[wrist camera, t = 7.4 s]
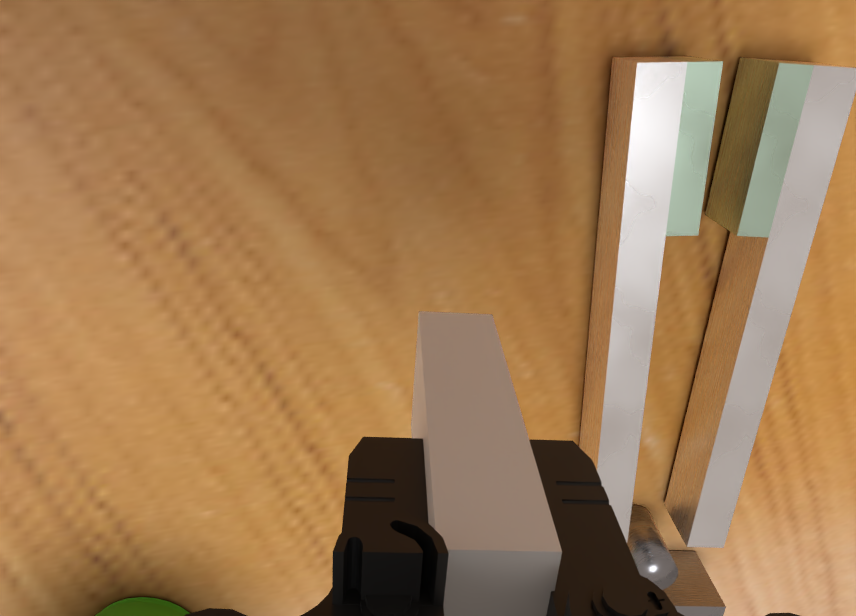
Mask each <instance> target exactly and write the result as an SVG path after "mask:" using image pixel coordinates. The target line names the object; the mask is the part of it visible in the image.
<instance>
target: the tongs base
mask: <svg viewBox="0 0 856 616" xmlns="http://www.w3.org/2000/svg"><path fill="white" fill-rule="evenodd" d="M855 92H856V68H854V67H846V66H839V65H831V64H823V63H814V62H800V61H785V60H771V59H756V58H741V57H740V62H739V66H738V71H737V75H736V79H735V84H734V88H733V93H732V97H731V102H730V106H729V111H728V115H727V120H726V124H725V128H724V133H723V137H722V142H721V146H720V151H719V155H718V160H717V164H716V169H715V173H714V177H713V182H712V186H711V191H710V195H709V200H708V204H707V209H706V213H705V215H706V216H708V217H709V218H711V219H712V220H714V221H715V222H717V223H718V224H720V225H721V226H723V227H724V228H726V229H727V230H729V231H730V235H729V239H728V243H727V247H726V251H725V255H724V260H723V264H722V268H721V272H720V276H719V280H718V285H717V289H716V293H715V297H714V301H713V305H712V309H711V314H710V318H709V322H708V326H707V330H706V334H705V338H704V343H703V347H702V351H701V355H700V359H699V363H698V367H697V372H696V376H695V380H694V384H693V388H692V392H691V397H690V401H689V405H688V409H687V413H686V417H685V421H684V426H683V430H682V434H681V438H680V442H679V446H678V450H677V455H676V459H675V463H674V467H673V471H672V475H671V479H670V484H669V488H668V492H667V496H666V500H665V504H664V505H665V507H666V509H667V511H668V513H669V515H670V516H671V518H672V520H673V522H674V524H675V526H676V527H677V529H678V531H679V533H680V535H681V537H682V539H683V540H684V542H685V544H686V546H687V547H716V548H724V544H725V541H726V537H727V534H728V531H729V527H730V524H731V520H732V517H733V513H734V510H735V506H736V503H737V499H738V496H739V493H740V489H741V486H742V482H743V479H744V475H745V472H746V468H747V465H748V462H749V458H750V455H751V451H752V448H753V444H754V441H755V437H756V434H757V430H758V427H759V424H760V420H761V417H762V413H763V410H764V406H765V403H766V399H767V396H768V392H769V389H770V386H771V382H772V379H773V375H774V372H775V368H776V365H777V361H778V358H779V355H780V351H781V348H782V344H783V341H784V337H785V334H786V330H787V327H788V323H789V320H790V317H791V313H792V310H793V306H794V303H795V299H796V296H797V292H798V289H799V285H800V282H801V279H802V275H803V272H804V268H805V265H806V261H807V258H808V254H809V251H810V248H811V244H812V241H813V237H814V234H815V230H816V227H817V223H818V220H819V216H820V213H821V210H822V206H823V203H824V199H825V196H826V192H827V189H828V185H829V182H830V178H831V175H832V172H833V168H834V165H835V161H836V158H837V154H838V151H839V147H840V144H841V141H842V137H843V134H844V130H845V127H846V123H847V120H848V116H849V113H850V109H851V106H852V103H853V99H854V96H855ZM627 545H628V547H629V549H630V552H631V554H632V557H633V559H634V561H635V564H636V566H637V569H638V571H639V574H640V575H641V576H643V577H645V578H648V579H649V580H650V581H652V582H653V583H654V584H655V585H657V586H658V587H659V588H660V589H662V590H663V591H664V592H665V593H666V595H667V596H668V598H669V599H670V601H671V602H672V603H673V605H674V606H675V608H676V610H677V612H679V613H681V614H682V615H684V616H723V614H724V611H725V608H726V606H725V605H724V603H723V601H722V599H721V597H720V595H719V594H718V592H717V590H716V588H715V586H714V585H713V583H712V581H711V579H710V577H709V576H708V574H707V572H706V570H705V568H704V567H703V565H702V563H701V561H700V559H699V557H698V556H697V554H696V552H695V551H669V550H668V548H667V546H666V544H665V542H664V540H663V538H662V536H661V534H660V532H659V530H658V528H657V526H656V524H655V522H654V520H653V518H652V516H651V514H650V513H649V511H648V510H647V509H646V508H644V507H642V506H639V505H632V509H631V517H630V525H629V533H628V541H627Z"/></svg>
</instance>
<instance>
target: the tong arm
mask: <svg viewBox="0 0 856 616" xmlns="http://www.w3.org/2000/svg"><path fill="white" fill-rule="evenodd" d="M722 66H723V61H718V60H711V59H705V58H699V57H692V56H664V57H612V69H611V80H610V92H609V104H608V115H607V127H606V139H605V151H604V162H603V174H602V186H601V197H600V209H599V221H598V233H597V244H596V256H595V268H594V279H593V291H592V303H591V315H590V326H589V338H588V350H587V361H586V373H585V385H584V397H583V408H582V420H581V432H580V443H579V448H580V449H582V450H583V451H584V452H585V453H586V454H587V455H588V456H589V457H590V458H591V459H592V460H593V463H594V465H595V467H596V470H597V472H598V475H599V477H600V479H601V482H602V487H604V489H605V491H606V494H607V496H608V499H609V505H611V506H612V508H613V511H614V513H615V516H616V518H617V520H618V523H619V525H620V528H621V530H622V533H623V535H624V537H625V540H626V542H627V541H628V533H629V525H630V517H631V509H632V501H633V493H634V485H635V477H636V469H637V461H638V453H639V445H640V437H641V429H642V421H643V413H644V405H645V397H646V389H647V381H648V373H649V365H650V357H651V349H652V341H653V333H654V325H655V317H656V309H657V301H658V293H659V285H660V277H661V269H662V261H663V253H664V245H665V237H666V236H692V235H698V233H699V226H700V219H701V212H702V205H703V198H704V191H705V184H706V177H707V170H708V163H709V156H710V149H711V142H712V135H713V129H714V122H715V115H716V108H717V101H718V94H719V87H720V80H721V73H722Z"/></svg>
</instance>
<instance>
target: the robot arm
mask: <svg viewBox="0 0 856 616" xmlns="http://www.w3.org/2000/svg"><path fill="white" fill-rule="evenodd" d="M411 431H412V438H386V437H363V438H362V439H361V441H360V442H359V443H358V445H357V446H356V447H355V449H354V450H353V451H352V452H351V454H350V455H349V461H348V472H347V483H346V493H345V504H344V515H343V525H342V533H341V534H340V535H339V537H338V540H337V542H336V545H335V548H334V550H333V587H332V589H331V591H330V592H329V594H328V595H327V596H326V597H325V598H324V599H323V600H322V601H321V602H320V603H319V604H318V605H317V606H316V607H314V608H313V609H311V610H310V611H308V612H306V613H305V614H303V615H301V616H684V615H682V614H681V613H679V612H677V610H676V608H675V606H674V605H673V603H672V602H671V601H670V599H669V598H668V596H667V595H666V593H665V592H664V591H663V590H662V589H660V588H659V587H658V586H657V585H655V584H654V583H653V582H652V581H650V580H649V579H648V578H645V577H643V576H641V575H640V574H639V571H638V569H637V566H636V564H635V561H634V559H633V557H632V554H631V552H630V549H629V547H628V545H627V542H626V540H625V537H624V535H623V533H622V530H621V528H620V525H619V523H618V520H617V518H616V516H615V513H614V511H613V508H612V506H611V505H609V499H608V496H607V494H606V491H605V489H604V487H602V482H601V479H600V477H599V475H598V472H597V470H596V467H595V465H594V463H593V460H592V459H591V458H590V457H589V456H588V455H587V454H586V453H585V452H584V451H583V450H582V449H580V448H579V447H578V446H577V445H576V444H575V443H574V442H573V441H560V440H529V438H528V434H527V431H526V427H525V424H524V421H523V417H522V414H521V410H520V407H519V404H518V400H517V397H516V393H515V390H514V387H513V383H512V380H511V377H510V373H509V370H508V366H507V363H506V360H505V356H504V353H503V349H502V346H501V343H500V339H499V336H498V332H497V329H496V326H495V322H494V319H493V315H492V314H470V313H446V312H422V311H419V317H418V331H417V346H416V361H415V376H414V391H413V405H412V420H411ZM185 616H247V615H244V614H242V613H239V612H237V611H235V610H232V609H212V608H209V609H205V610H201V611H198V612H194V613H190V614H186V615H185ZM766 616H799V615H796V614H792V613H770V614H768V615H766Z"/></svg>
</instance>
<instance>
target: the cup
mask: <svg viewBox="0 0 856 616" xmlns="http://www.w3.org/2000/svg"><path fill="white" fill-rule="evenodd" d="M186 614H190V613H189V612H187V611H186V610H185V609H183V608H182V607H180V606H178V605H176V604H173V603H171V602H169V601H165V600H161V599H157V598H148V597H136V598H127V599H124V600H121V601H118V602H115V603H113V604H111V605H109V606H108V607H106V608H104V609H103V610H102V611H101V612H99V613H98V614H96V615H95V616H185V615H186Z"/></svg>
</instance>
